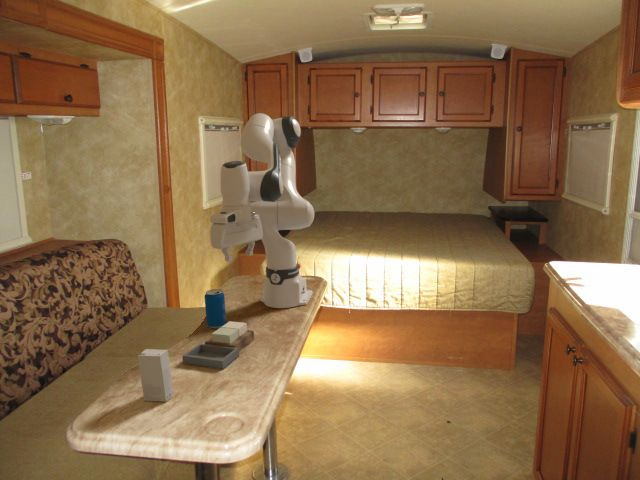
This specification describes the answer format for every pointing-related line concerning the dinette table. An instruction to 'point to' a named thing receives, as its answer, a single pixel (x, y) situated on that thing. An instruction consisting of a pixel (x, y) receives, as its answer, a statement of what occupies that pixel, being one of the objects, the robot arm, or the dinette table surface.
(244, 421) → the dinette table surface
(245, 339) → the walnut plate
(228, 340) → the tile front
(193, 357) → the box
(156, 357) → the skincare box
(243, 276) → the dinette table surface
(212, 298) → the beverage can
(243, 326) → the tile back
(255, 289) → the dinette table surface
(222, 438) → the dinette table surface
